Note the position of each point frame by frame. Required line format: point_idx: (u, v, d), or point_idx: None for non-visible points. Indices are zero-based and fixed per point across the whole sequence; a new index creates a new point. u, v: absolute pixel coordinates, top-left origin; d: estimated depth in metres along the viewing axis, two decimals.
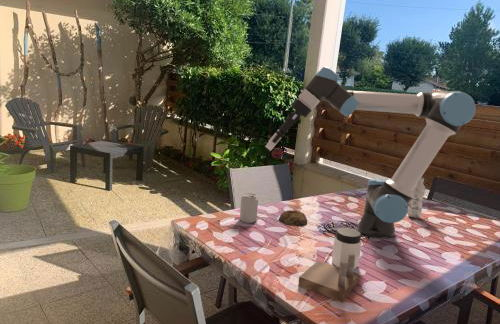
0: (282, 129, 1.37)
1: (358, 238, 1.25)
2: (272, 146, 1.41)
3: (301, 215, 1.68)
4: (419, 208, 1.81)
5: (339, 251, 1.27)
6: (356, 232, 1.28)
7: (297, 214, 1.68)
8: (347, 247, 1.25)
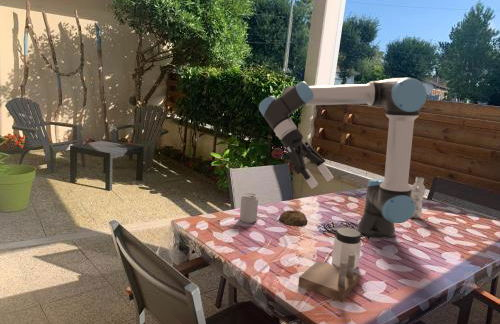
0: (294, 165, 1.25)
1: (358, 238, 1.25)
2: (313, 181, 1.25)
3: (301, 215, 1.68)
4: (419, 208, 1.81)
5: (339, 251, 1.27)
6: (356, 232, 1.28)
7: (297, 214, 1.68)
8: (347, 247, 1.25)
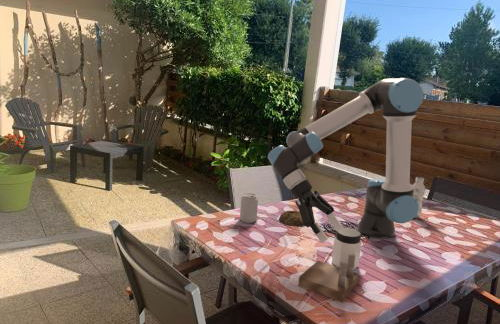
0: (304, 220, 1.25)
1: (358, 238, 1.25)
2: (323, 235, 1.25)
3: None
4: (419, 208, 1.81)
5: (339, 251, 1.27)
6: (356, 232, 1.28)
7: (297, 215, 1.67)
8: (347, 247, 1.25)
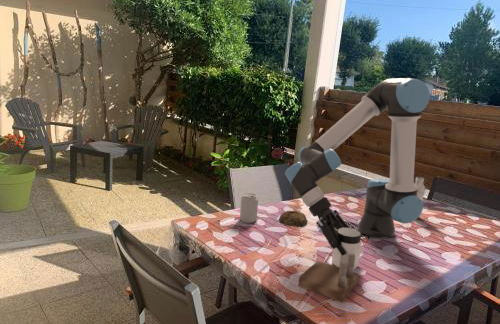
0: (330, 241, 1.24)
1: (358, 238, 1.25)
2: None
3: (301, 215, 1.68)
4: None
5: None
6: (356, 232, 1.28)
7: (297, 215, 1.67)
8: (347, 247, 1.25)
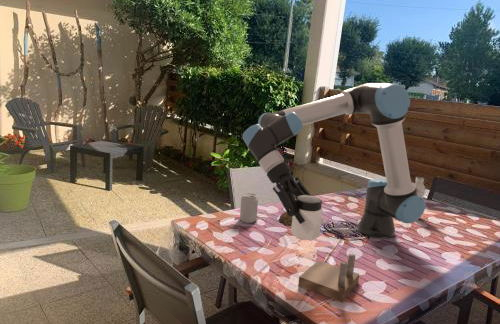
0: (287, 208, 1.13)
1: (318, 205, 1.14)
2: (308, 225, 1.13)
3: None
4: None
5: None
6: (317, 199, 1.17)
7: None
8: (306, 215, 1.14)
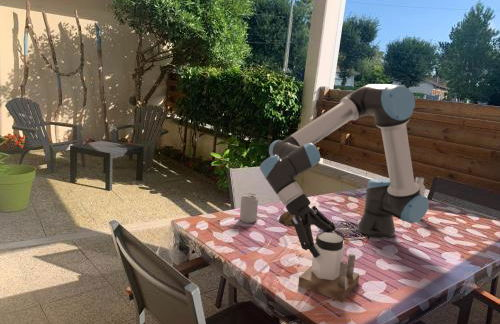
0: (301, 241, 1.09)
1: (340, 244, 1.12)
2: (323, 259, 1.09)
3: None
4: None
5: None
6: (338, 238, 1.15)
7: None
8: (327, 254, 1.12)
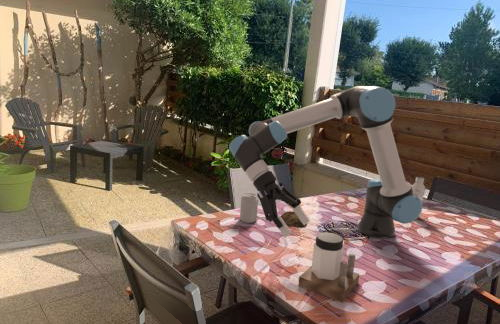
0: (266, 213, 1.17)
1: (339, 244, 1.12)
2: (286, 229, 1.17)
3: None
4: None
5: (318, 259, 1.13)
6: (338, 237, 1.15)
7: None
8: (327, 254, 1.12)
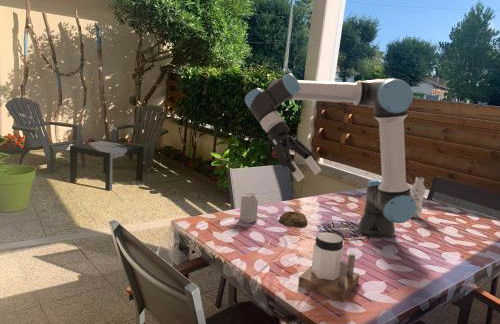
0: (280, 158, 1.23)
1: (339, 244, 1.12)
2: (299, 173, 1.23)
3: (301, 216, 1.67)
4: (419, 208, 1.81)
5: (318, 259, 1.13)
6: (338, 237, 1.15)
7: (297, 216, 1.66)
8: (327, 254, 1.12)
